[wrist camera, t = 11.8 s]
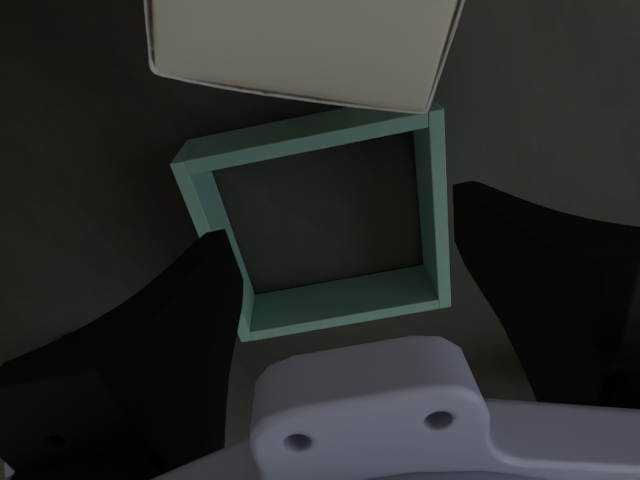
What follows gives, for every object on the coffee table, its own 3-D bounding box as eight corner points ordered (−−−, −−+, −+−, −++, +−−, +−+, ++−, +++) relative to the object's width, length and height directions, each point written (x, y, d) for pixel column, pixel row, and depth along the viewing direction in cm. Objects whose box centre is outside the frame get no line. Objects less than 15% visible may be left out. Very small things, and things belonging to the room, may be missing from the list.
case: (247, 304, 28) (241, 343, 25) (186, 139, 22) (169, 164, 19) (434, 271, 27) (451, 307, 24) (424, 90, 21) (444, 108, 18)
